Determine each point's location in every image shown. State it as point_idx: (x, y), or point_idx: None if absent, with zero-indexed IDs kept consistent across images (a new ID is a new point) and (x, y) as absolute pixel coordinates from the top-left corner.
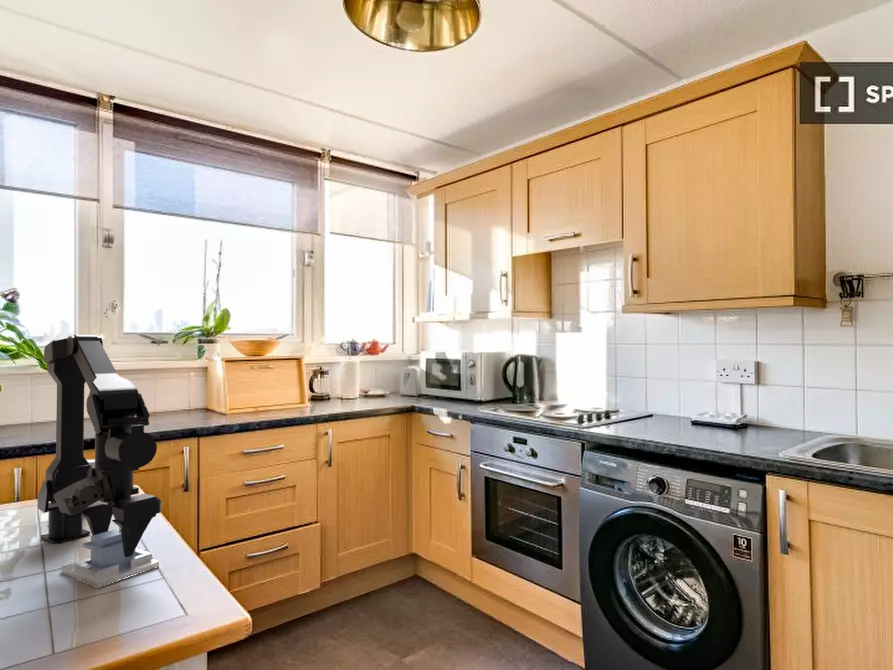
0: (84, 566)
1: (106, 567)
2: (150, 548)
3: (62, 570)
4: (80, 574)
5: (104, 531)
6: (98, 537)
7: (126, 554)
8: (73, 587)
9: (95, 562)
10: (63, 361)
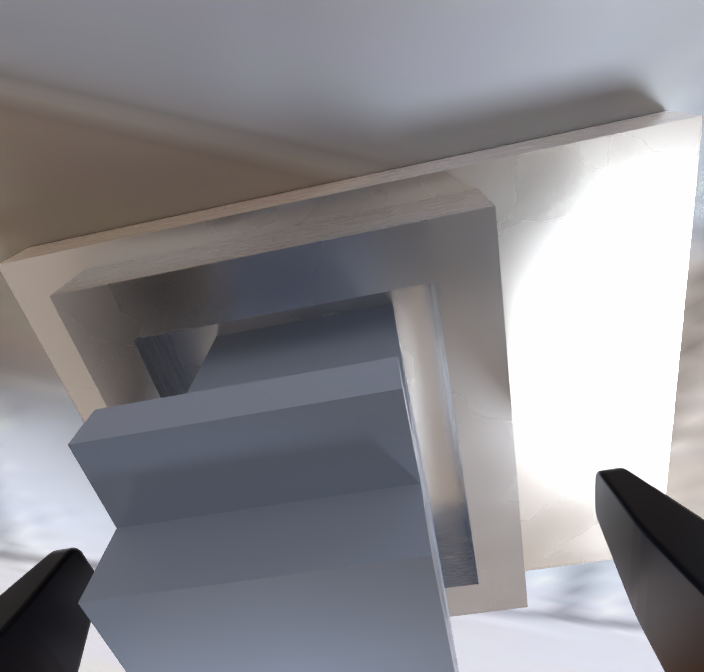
0: (294, 258)
1: (124, 388)
2: (564, 629)
3: (657, 119)
4: (309, 205)
5: (678, 663)
6: (243, 601)
7: (27, 575)
8: (193, 108)
9: (302, 355)
10: None
